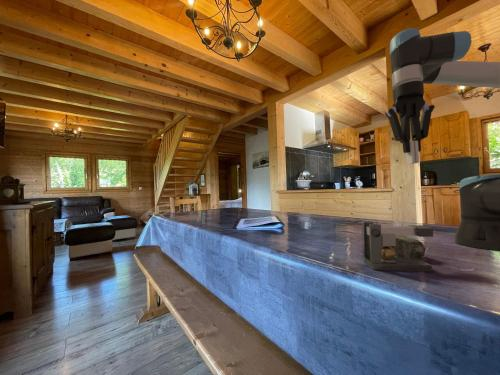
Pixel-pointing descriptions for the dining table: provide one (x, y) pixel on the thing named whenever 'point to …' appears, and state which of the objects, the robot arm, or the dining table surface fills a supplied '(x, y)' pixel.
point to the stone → (408, 247)
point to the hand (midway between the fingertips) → (412, 163)
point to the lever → (402, 233)
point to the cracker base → (377, 254)
